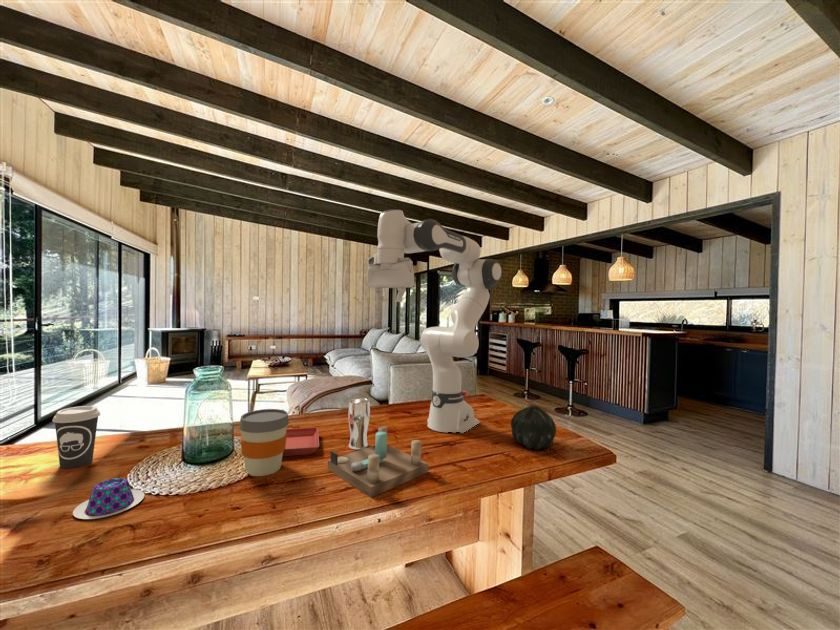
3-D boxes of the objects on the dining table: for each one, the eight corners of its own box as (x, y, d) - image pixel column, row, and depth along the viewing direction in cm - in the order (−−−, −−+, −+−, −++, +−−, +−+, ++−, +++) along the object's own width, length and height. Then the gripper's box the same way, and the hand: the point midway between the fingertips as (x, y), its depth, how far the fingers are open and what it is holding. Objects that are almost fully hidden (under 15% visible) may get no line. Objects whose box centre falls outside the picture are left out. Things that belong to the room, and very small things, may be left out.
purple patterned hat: (117, 522, 73) (118, 497, 73) (55, 523, 72) (56, 497, 72) (156, 492, 85) (157, 470, 85) (103, 492, 84) (104, 470, 84)
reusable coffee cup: (256, 484, 90) (257, 425, 89) (228, 470, 96) (229, 416, 96) (297, 466, 100) (298, 413, 100) (269, 455, 107) (270, 406, 107)
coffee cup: (107, 459, 101) (108, 407, 100) (65, 474, 92) (65, 416, 91) (86, 454, 104) (87, 403, 104) (43, 467, 95) (43, 412, 95)
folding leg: (355, 472, 91) (356, 443, 91) (348, 468, 94) (349, 440, 93) (388, 460, 99) (389, 433, 99) (381, 456, 101) (382, 430, 101)
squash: (534, 419, 133) (518, 392, 127) (570, 433, 121) (554, 404, 115) (513, 449, 128) (495, 423, 122) (548, 466, 116) (530, 438, 110)
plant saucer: (317, 435, 125) (318, 426, 125) (319, 456, 108) (319, 445, 108) (262, 439, 120) (262, 430, 120) (254, 462, 103) (255, 451, 103)
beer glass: (364, 451, 112) (365, 404, 112) (344, 449, 113) (345, 402, 113) (371, 443, 119) (373, 399, 119) (352, 441, 120) (353, 397, 120)
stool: (383, 450, 113) (383, 424, 113) (428, 472, 99) (429, 442, 99) (327, 469, 99) (328, 439, 99) (370, 497, 85) (371, 462, 85)
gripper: (419, 258, 110) (418, 302, 110) (378, 262, 125) (377, 301, 125) (404, 255, 106) (403, 301, 106) (364, 260, 120) (362, 301, 120)
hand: (389, 301), depth 115 cm, fingers open, 8 cm apart
